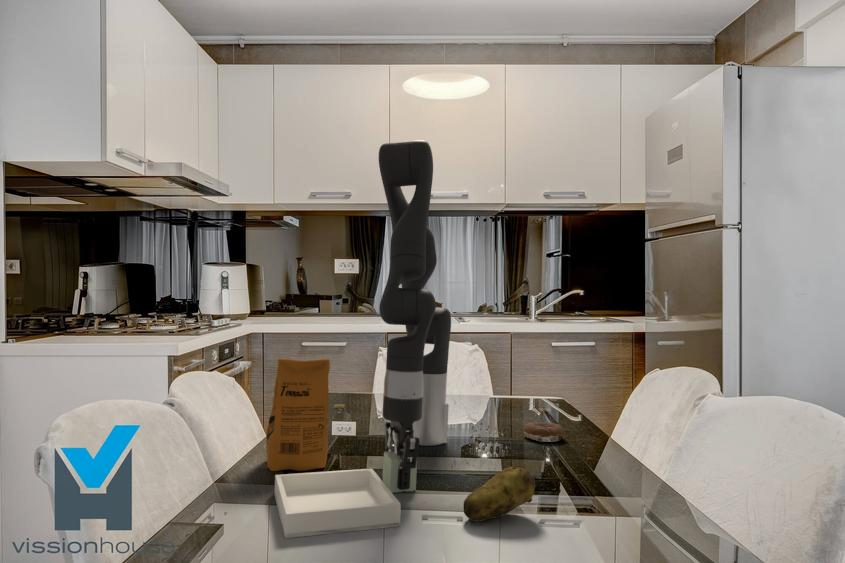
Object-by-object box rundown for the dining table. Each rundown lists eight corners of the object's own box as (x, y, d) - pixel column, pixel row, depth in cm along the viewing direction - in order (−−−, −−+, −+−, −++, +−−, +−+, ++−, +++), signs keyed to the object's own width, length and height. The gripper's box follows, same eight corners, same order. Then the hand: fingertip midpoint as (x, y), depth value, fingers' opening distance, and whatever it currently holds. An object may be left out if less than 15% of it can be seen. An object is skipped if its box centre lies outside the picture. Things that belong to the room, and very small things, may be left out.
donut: (548, 447, 138) (548, 431, 138) (514, 437, 146) (515, 422, 146) (572, 441, 145) (573, 425, 145) (539, 432, 153) (539, 417, 153)
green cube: (407, 481, 108) (408, 450, 108) (415, 490, 103) (417, 458, 103) (382, 483, 106) (383, 451, 106) (389, 492, 101) (391, 459, 102)
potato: (454, 508, 96) (456, 461, 96) (525, 506, 98) (527, 461, 98) (466, 528, 88) (468, 477, 88) (543, 526, 90) (545, 477, 90)
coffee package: (265, 457, 118) (271, 354, 119) (324, 456, 121) (329, 355, 122) (263, 473, 109) (269, 360, 109) (328, 471, 112) (333, 362, 112)
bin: (371, 487, 104) (372, 468, 104) (399, 526, 87) (400, 503, 87) (274, 494, 98) (275, 474, 98) (285, 538, 81) (286, 514, 81)
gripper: (435, 400, 100) (430, 496, 99) (409, 386, 113) (405, 470, 113) (395, 401, 97) (390, 499, 97) (374, 386, 110) (369, 472, 110)
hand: (398, 483), depth 105 cm, fingers closed on green cube, 5 cm apart
